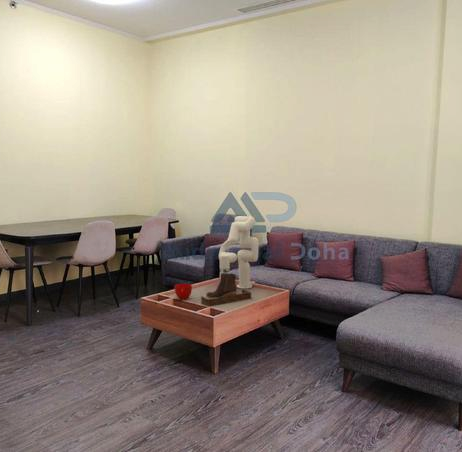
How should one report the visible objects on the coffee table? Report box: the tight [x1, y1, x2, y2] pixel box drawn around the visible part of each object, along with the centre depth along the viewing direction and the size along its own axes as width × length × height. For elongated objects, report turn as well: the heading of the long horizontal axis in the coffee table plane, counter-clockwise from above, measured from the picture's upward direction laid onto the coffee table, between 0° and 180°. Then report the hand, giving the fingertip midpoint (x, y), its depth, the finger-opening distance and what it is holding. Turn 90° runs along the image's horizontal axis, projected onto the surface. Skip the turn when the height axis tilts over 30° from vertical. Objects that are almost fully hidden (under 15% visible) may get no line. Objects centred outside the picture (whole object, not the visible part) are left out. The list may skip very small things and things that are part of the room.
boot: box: [205, 273, 238, 299], centre depth 342 cm, size 9×24×20 cm, turn 76°
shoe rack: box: [200, 289, 252, 307], centre depth 339 cm, size 37×11×5 cm, turn 124°
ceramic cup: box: [174, 283, 193, 301], centre depth 343 cm, size 13×17×10 cm
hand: (225, 293), depth 348 cm, fingers closed
